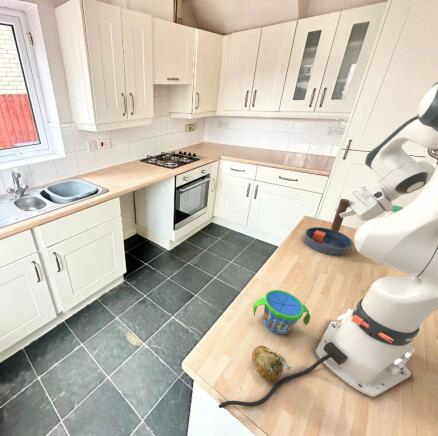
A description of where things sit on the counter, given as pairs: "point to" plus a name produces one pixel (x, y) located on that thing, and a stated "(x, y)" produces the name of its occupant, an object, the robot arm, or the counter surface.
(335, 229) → the stick
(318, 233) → the block
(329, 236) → the bowl
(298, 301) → the snack cup
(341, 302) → the counter surface
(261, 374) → the onion
